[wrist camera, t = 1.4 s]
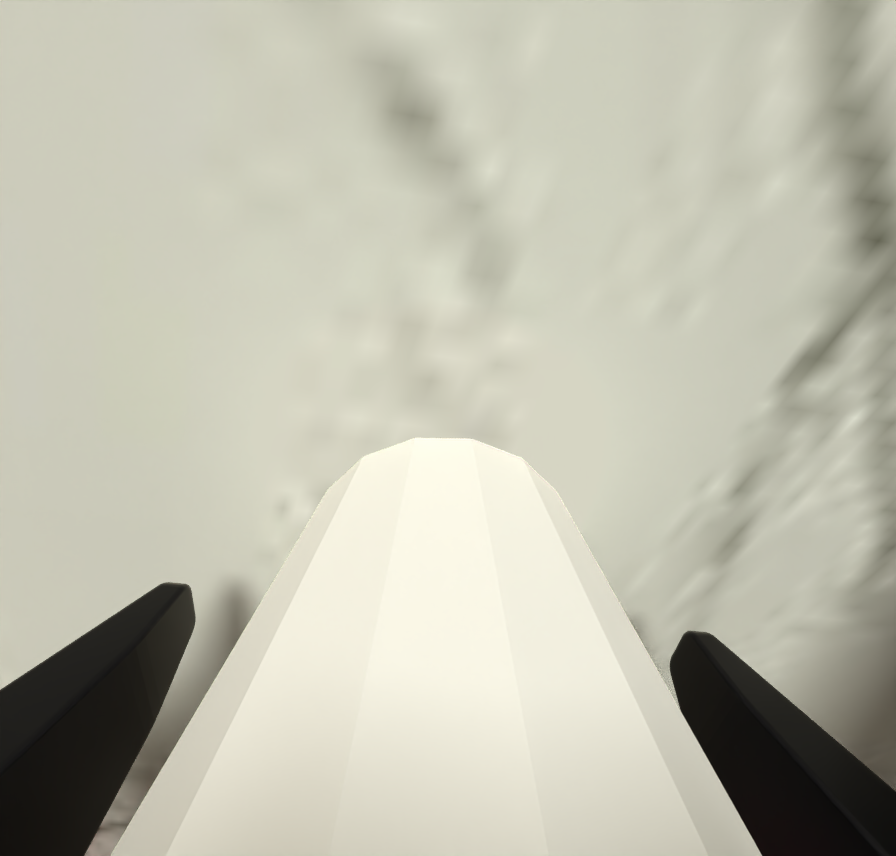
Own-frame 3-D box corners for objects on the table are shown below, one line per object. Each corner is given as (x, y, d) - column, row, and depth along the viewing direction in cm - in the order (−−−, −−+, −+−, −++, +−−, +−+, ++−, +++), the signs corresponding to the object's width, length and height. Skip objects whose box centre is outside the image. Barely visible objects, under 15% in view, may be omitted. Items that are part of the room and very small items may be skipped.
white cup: (650, 442, 9) (1140, 1024, 3) (544, 670, 12) (654, 1195, 6) (293, 373, 8) (-192, 932, 2) (276, 633, 11) (62, 1180, 5)
